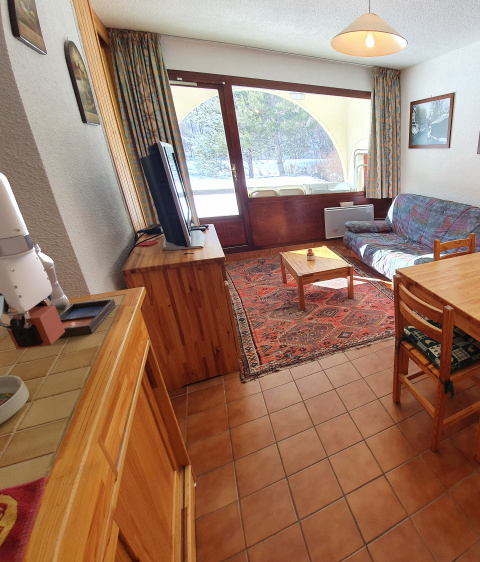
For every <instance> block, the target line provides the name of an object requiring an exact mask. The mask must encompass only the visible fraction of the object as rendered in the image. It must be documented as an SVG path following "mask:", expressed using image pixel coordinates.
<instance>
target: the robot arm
mask: <svg viewBox="0 0 480 562" xmlns="http://www.w3.org/2000/svg"><path fill="white" fill-rule="evenodd" d="M10 185H11V184H10V183H9V181H8V179H7V177H6V176H5V175H4V174H3V173H2V172H0V327H3V328H5V329H6V328H7V329H6V331H7V330H11V332H12V334H13V336H14V338H15V340H16V342H17V345H18V346H19V347H21V348H22V347H30V346H38V345H41V344H42V343H43V341H42V339H41V337H40V335H39V332H38V330H37V328H36V325H31V319H30V314H29V310H30V309H31V308H33V307H42V306H53V304H52V303H51V298H52V297H51V293H52V286H51V284H50V281H49V278H48V276H47V273H46V271H45V269H44V267H43V265H42V263H41V261H40V259H39V258H38V256H37V254H36V252H35V248H34V245H33V241H32V238H31V236H30V235H31V234H30V232H29V231H28V228H27V225H26V223H25V220H24V218H23V215H22V213H21V211H20V209H19V206H18V203H17V201H16V198H15V195H14V193H13V191H12V188H11V186H10ZM13 309H14V310H13ZM12 310H13V311H12ZM13 315H21V319H22V320H19V319H14V317H13Z"/></svg>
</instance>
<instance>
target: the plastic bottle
mask: <svg viewBox="0 0 480 562" xmlns="http://www.w3.org/2000/svg"><path fill="white" fill-rule="evenodd" d="M32 243H33V242H32ZM33 245H34V248H35V252H36V254H37V256H38V258H39V259H40V261H41V263H42V265H43V267H44V269H45V271H46V273H47V276H48V278H49V281H50V284H51V286H52V293H51V297H52V298H51V303H52V304H53V305H55V307H56V310H57V312H58V315H59V314H60V313H61V312H62V311H64V310H65V309H66V308H67V307H68V306H69V305H71V303H70V300H69V298H68V297H67V295H66V294H65V293H64V291H63V289H62V287H61V285H60V283H59V280H58V277H57V274H56V273H57V272H56V269H55V263H54V261H53V259H52V258H50V257H49V256H48V255H46V254H44V253H42V252H41V251H42V249H41V248H40V246H39V244H38V243H33Z"/></svg>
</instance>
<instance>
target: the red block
mask: <svg viewBox="0 0 480 562" xmlns="http://www.w3.org/2000/svg"><path fill="white" fill-rule="evenodd" d="M29 314H30V319H31V325H36V328H37V330H38V332H39V335H40V337H41V339H42V341H43V343H42V344H41V345H38V346H30V347H22V348H21V347H19V346H18V345H17V342H16V340H15V338H14V336H13V334H12V332H11V330H7V328H5V329H6V331H7V333H8V335H9V337H10V339H11V341H12V343H13V345H14V347H15V350H24V349H31V348H38V347H39V348H40V347H47V346H52V345H53V344H54V343H56V341H57V340H58V339H60V338H59V337H60V336H61V335H62V334H63V333H64V332H65V330H64V327H63V325H62V322H61V320H60V317H59V314H58V312H57V310H56V307H55V305H53V306H42V307H33V308H31V309H30V310H29ZM13 317H14V319H19V320H22V319H21V315H13Z"/></svg>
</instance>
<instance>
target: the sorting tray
mask: <svg viewBox="0 0 480 562" xmlns="http://www.w3.org/2000/svg"><path fill="white" fill-rule="evenodd" d="M116 307H117V304H116V302H115V299H114V298H110V299H101V300H92V301H83V302H75V303H70V305H69V306H68V307H67V308H66V309H65V310H64V311H62V312H61V313H60V314H58V315H59V317H60V320H61V322H62V325H63V327H64V330H65V332H64V333H63V334H62V335H61V336H60V337H59V338H58V339H64V338H70V337H78V336H84V335H85V336H86V335H92V334H93V333H94V332H96V330H97V329H98V328H99V327H100V325H101V324H102V323H103V322H104V321H105V319H107V317H108V316H109V315H110V314H111V313H112V311H113V310H114V309H116Z"/></svg>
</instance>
